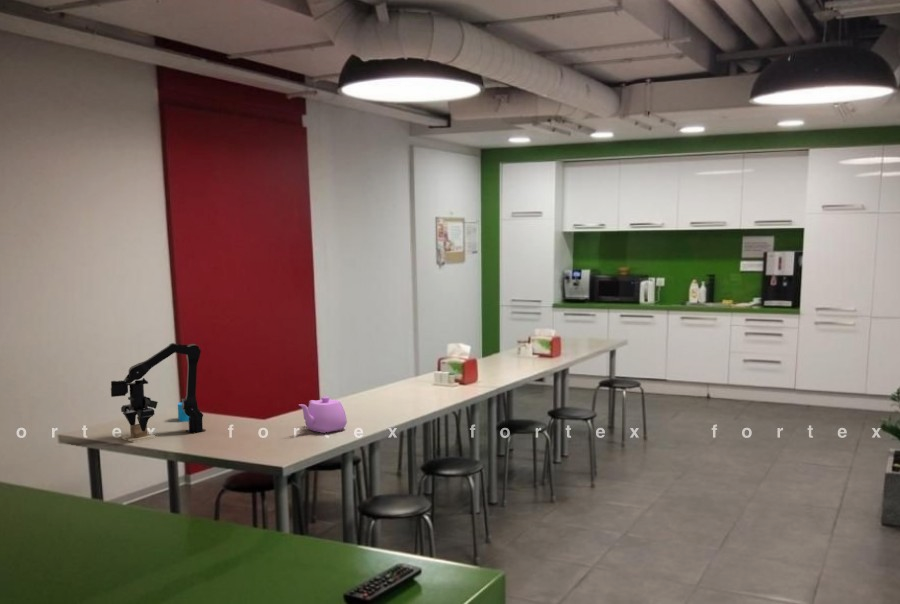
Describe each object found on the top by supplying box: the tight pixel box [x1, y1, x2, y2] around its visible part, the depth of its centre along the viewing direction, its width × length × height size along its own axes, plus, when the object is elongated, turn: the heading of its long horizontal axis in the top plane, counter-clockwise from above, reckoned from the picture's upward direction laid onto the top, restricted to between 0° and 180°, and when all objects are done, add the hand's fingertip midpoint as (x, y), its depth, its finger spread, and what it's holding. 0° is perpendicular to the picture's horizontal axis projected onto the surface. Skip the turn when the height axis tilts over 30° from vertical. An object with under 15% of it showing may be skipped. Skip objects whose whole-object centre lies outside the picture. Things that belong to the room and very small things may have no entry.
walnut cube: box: [129, 423, 148, 438], centre depth 314 cm, size 5×5×5 cm
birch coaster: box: [121, 432, 156, 443], centre depth 314 cm, size 10×10×1 cm
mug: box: [177, 402, 189, 423], centre depth 351 cm, size 12×8×8 cm
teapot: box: [298, 395, 348, 434], centre depth 323 cm, size 23×21×15 cm
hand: (138, 429), depth 314 cm, fingers open, 9 cm apart
